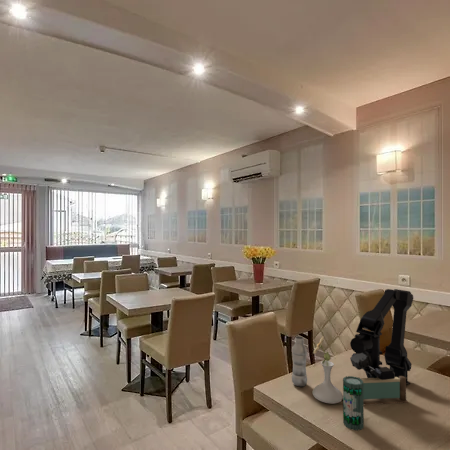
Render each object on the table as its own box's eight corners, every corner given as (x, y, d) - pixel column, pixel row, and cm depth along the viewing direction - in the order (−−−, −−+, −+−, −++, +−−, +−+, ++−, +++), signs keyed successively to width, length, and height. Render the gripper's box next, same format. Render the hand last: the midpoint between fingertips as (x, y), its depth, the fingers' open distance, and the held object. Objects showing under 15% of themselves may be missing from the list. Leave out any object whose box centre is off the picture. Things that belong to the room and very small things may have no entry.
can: (340, 423, 108) (340, 379, 108) (350, 417, 112) (349, 374, 112) (356, 432, 103) (356, 386, 103) (366, 425, 107) (366, 381, 107)
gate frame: (402, 398, 124) (402, 375, 124) (408, 402, 121) (408, 379, 121) (355, 400, 123) (354, 377, 123) (359, 404, 120) (358, 381, 120)
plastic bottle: (305, 381, 138) (305, 335, 138) (308, 389, 131) (308, 340, 131) (290, 380, 139) (290, 334, 139) (292, 388, 132) (292, 340, 132)
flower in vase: (321, 388, 132) (321, 328, 132) (348, 398, 124) (347, 334, 124) (304, 400, 123) (304, 335, 123) (332, 412, 115) (331, 343, 115)
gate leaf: (397, 395, 123) (397, 376, 123) (400, 398, 121) (400, 379, 121) (361, 397, 122) (361, 378, 122) (363, 399, 120) (363, 380, 120)
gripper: (340, 340, 134) (340, 378, 133) (369, 358, 115) (369, 401, 115) (363, 338, 136) (363, 375, 136) (395, 356, 118) (395, 398, 118)
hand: (371, 386), depth 126 cm, fingers closed
